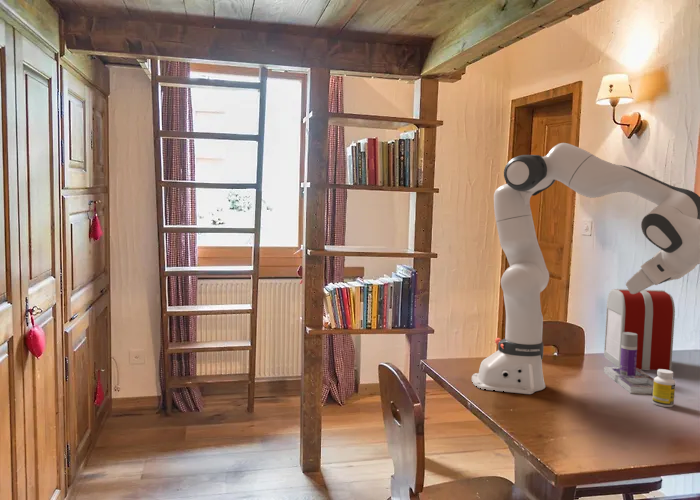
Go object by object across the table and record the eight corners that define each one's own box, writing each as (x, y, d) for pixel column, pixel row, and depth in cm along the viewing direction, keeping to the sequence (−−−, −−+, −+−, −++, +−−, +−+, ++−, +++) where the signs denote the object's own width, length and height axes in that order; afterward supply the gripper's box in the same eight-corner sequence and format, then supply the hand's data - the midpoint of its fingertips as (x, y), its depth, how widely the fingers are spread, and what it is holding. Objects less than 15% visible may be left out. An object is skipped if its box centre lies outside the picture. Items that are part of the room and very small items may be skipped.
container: (637, 380, 180) (639, 335, 179) (621, 379, 181) (624, 334, 180) (632, 376, 185) (635, 332, 183) (617, 375, 186) (620, 331, 184)
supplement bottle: (673, 409, 155) (675, 375, 154) (651, 405, 158) (653, 371, 157) (674, 403, 160) (676, 370, 159) (652, 399, 163) (654, 367, 162)
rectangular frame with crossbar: (667, 394, 167) (668, 388, 167) (630, 393, 168) (630, 386, 168) (637, 373, 188) (637, 367, 188) (603, 372, 189) (604, 366, 188)
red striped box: (602, 355, 210) (606, 285, 208) (651, 357, 208) (656, 287, 206) (619, 368, 194) (623, 292, 191) (672, 371, 192) (677, 294, 190)
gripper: (690, 240, 155) (659, 264, 166) (639, 265, 148) (611, 288, 160) (706, 258, 152) (673, 281, 164) (654, 285, 145) (625, 306, 157)
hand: (642, 285), depth 162 cm, fingers open, 8 cm apart
